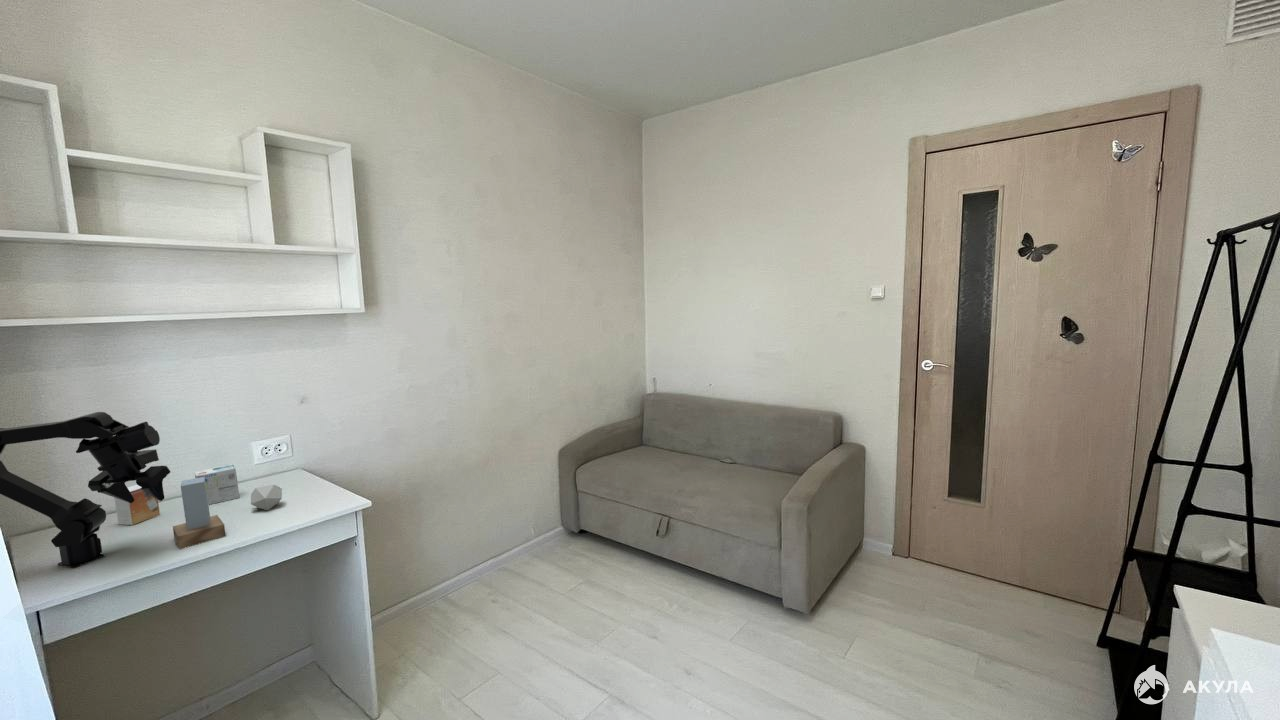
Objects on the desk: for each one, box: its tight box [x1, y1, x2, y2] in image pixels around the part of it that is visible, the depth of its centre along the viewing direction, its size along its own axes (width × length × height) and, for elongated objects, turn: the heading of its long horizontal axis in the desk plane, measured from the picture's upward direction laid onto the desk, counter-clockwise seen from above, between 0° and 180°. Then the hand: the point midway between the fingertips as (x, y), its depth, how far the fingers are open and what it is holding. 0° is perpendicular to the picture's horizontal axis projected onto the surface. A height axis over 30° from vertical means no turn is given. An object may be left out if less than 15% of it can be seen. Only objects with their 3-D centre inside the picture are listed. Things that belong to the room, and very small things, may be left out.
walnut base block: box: [172, 514, 227, 550], centre depth 149 cm, size 10×10×4 cm
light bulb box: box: [194, 463, 240, 505], centre depth 176 cm, size 11×7×11 cm, turn 135°
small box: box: [113, 484, 161, 526], centre depth 161 cm, size 8×6×10 cm
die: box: [250, 481, 283, 511], centre depth 169 cm, size 8×9×10 cm
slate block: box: [180, 477, 211, 530], centre depth 148 cm, size 5×5×13 cm
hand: (147, 500), depth 145 cm, fingers open, 9 cm apart
